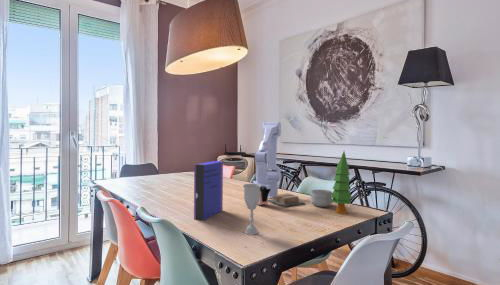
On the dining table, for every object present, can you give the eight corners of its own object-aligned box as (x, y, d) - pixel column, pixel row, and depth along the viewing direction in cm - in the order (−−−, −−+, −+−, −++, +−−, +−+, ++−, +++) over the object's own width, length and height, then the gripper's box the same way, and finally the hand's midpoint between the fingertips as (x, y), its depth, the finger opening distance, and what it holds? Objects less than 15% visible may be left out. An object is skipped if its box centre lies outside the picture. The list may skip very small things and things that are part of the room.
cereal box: (213, 209, 147) (214, 160, 146) (222, 210, 145) (222, 161, 144) (194, 218, 131) (194, 164, 130) (203, 220, 129) (203, 164, 128)
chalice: (250, 227, 120) (251, 183, 119) (264, 231, 115) (265, 185, 115) (238, 232, 114) (238, 185, 113) (252, 236, 110) (253, 187, 109)
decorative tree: (353, 211, 146) (354, 150, 144) (348, 216, 138) (349, 151, 137) (333, 208, 151) (334, 149, 150) (327, 213, 143) (328, 150, 142)
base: (268, 201, 164) (268, 194, 164) (288, 199, 171) (288, 192, 171) (283, 207, 152) (283, 199, 152) (304, 204, 159) (305, 196, 159)
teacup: (308, 206, 155) (308, 191, 155) (313, 202, 165) (314, 187, 164) (335, 210, 148) (335, 194, 148) (339, 205, 158) (340, 190, 158)
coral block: (254, 202, 158) (254, 191, 158) (262, 201, 161) (262, 190, 160) (259, 204, 154) (260, 193, 153) (268, 203, 156) (268, 192, 156)
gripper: (248, 173, 161) (247, 198, 161) (262, 177, 148) (262, 204, 149) (259, 172, 164) (259, 196, 165) (274, 176, 152) (274, 202, 152)
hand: (261, 200), depth 157 cm, fingers closed on coral block, 5 cm apart
